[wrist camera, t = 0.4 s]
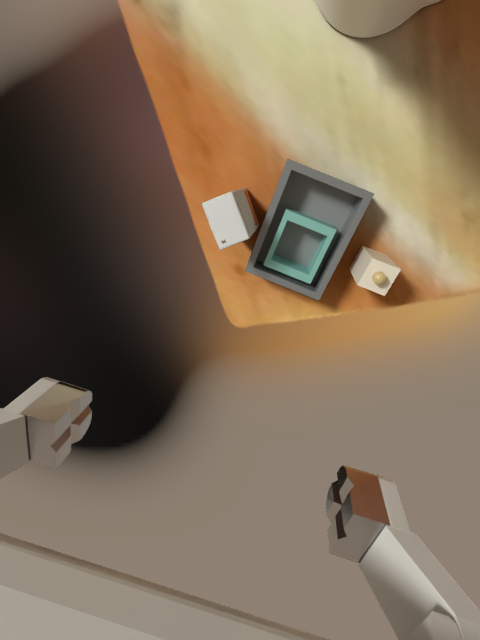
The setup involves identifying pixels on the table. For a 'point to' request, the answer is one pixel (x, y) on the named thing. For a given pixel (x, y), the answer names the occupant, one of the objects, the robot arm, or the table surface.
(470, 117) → the table surface
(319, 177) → the organiser box
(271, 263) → the inlet socket
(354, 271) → the plug
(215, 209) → the skincare box
